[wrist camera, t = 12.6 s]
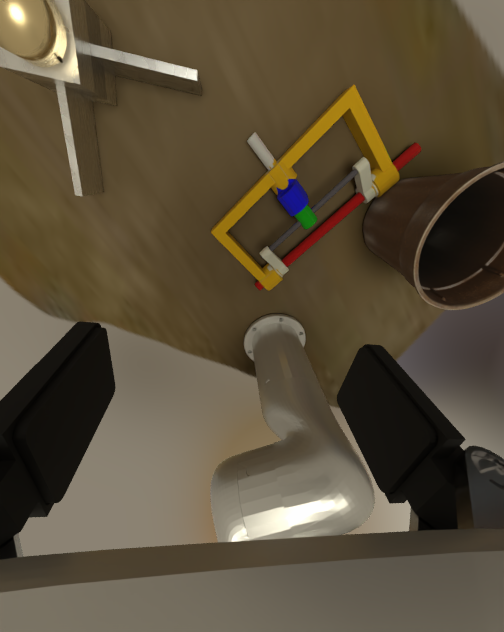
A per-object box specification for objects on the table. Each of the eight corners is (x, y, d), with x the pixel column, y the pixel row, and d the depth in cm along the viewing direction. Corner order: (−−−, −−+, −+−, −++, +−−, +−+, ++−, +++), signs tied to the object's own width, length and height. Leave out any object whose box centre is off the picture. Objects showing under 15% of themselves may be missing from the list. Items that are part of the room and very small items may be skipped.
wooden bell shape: (108, 96, 29) (51, 61, 19) (59, 86, 28) (-25, 43, 19) (102, 33, 26) (33, -42, 17) (47, 19, 25) (-57, -69, 16)
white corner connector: (196, 207, 37) (189, 217, 29) (75, 187, 34) (31, 193, 26) (203, 55, 29) (195, 13, 21) (45, 14, 26) (-31, -51, 18)
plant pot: (469, 174, 38) (609, 177, 24) (416, 272, 46) (498, 317, 32) (376, 150, 35) (474, 138, 21) (336, 259, 43) (389, 302, 29)
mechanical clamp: (445, 158, 31) (268, 305, 40) (413, 159, 37) (263, 289, 45) (382, -12, 23) (177, 218, 32) (353, 22, 29) (184, 211, 37)
